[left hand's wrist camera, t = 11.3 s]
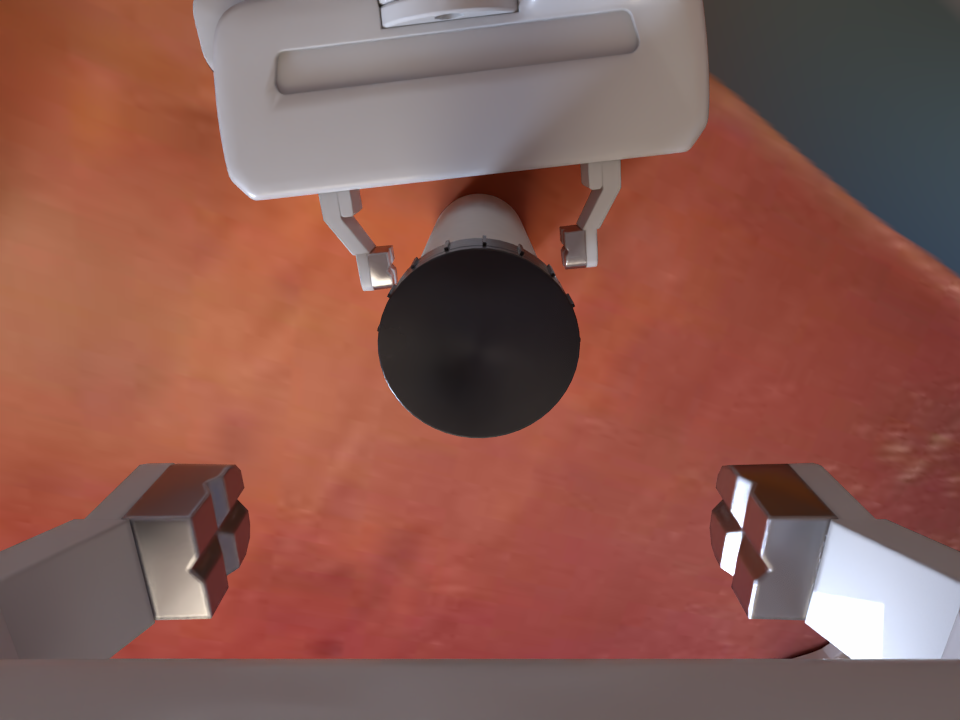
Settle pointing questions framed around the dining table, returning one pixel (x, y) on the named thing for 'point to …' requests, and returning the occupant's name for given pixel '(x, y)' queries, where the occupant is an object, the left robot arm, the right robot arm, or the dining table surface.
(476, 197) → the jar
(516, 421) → the lid
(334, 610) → the dining table surface
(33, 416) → the dining table surface
